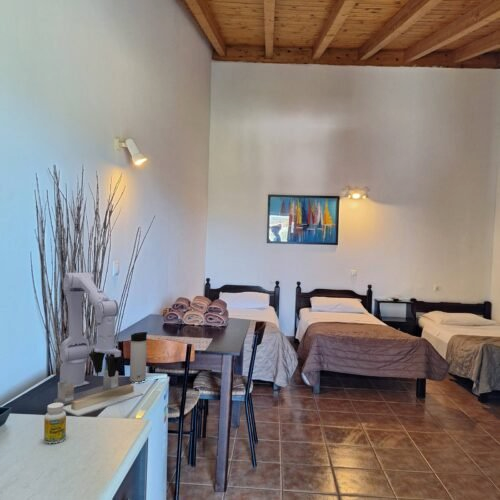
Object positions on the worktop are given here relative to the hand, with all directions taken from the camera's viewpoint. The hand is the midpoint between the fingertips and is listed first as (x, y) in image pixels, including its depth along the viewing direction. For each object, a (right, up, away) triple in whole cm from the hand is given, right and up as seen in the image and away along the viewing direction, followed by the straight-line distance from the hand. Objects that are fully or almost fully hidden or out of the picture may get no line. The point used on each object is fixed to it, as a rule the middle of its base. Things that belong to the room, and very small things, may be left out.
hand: (104, 374), depth 141 cm
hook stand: (-7, -9, +5) cm, 13 cm away
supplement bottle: (-3, -9, -30) cm, 32 cm away
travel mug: (+5, -10, +23) cm, 26 cm away
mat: (0, -9, 0) cm, 9 cm away
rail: (0, -9, 0) cm, 9 cm away
